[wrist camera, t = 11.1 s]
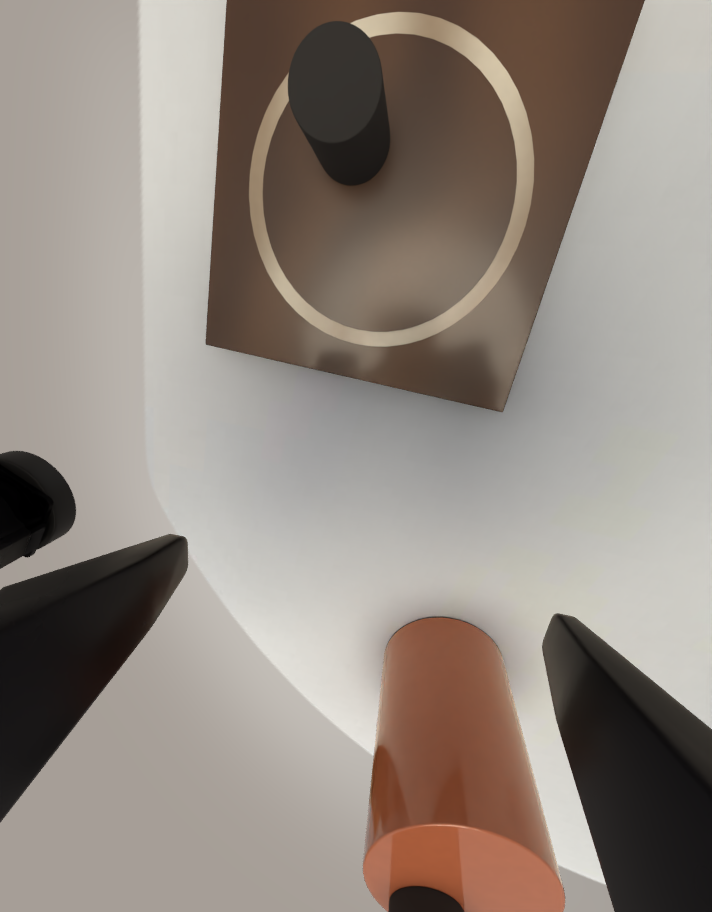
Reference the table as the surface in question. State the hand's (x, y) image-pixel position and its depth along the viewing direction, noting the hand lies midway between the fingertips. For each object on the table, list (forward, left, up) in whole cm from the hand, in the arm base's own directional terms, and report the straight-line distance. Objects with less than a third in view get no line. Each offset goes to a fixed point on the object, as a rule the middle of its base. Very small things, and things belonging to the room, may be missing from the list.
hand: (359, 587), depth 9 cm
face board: (-7, +9, -13) cm, 17 cm away
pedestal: (+12, -11, -13) cm, 21 cm away
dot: (-9, +10, -12) cm, 18 cm away
